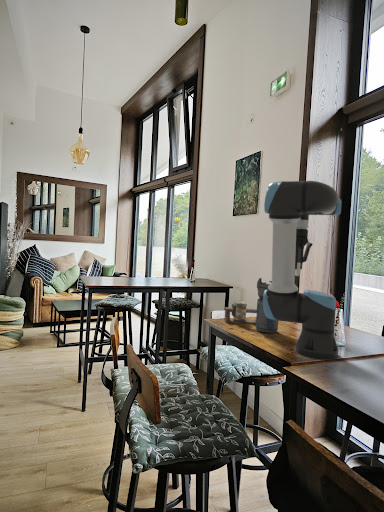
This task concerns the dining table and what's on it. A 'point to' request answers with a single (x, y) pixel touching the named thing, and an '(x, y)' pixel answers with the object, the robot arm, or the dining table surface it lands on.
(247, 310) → the pipe stand
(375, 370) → the dining table surface
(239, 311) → the sleeve
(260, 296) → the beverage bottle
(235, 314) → the dark grey flat block
